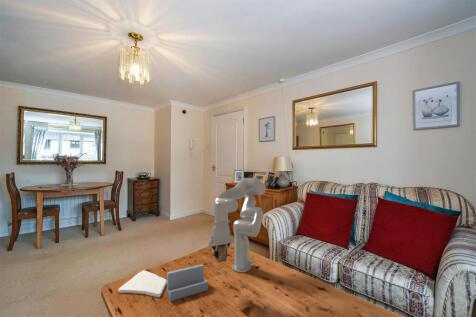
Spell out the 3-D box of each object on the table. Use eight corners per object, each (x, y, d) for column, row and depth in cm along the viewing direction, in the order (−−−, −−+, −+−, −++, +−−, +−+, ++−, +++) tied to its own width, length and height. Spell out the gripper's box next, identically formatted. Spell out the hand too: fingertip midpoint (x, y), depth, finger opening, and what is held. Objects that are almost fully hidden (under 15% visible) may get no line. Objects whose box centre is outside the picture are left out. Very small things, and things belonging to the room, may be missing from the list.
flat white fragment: (116, 296, 111) (158, 300, 106) (116, 289, 111) (158, 294, 106) (142, 273, 132) (178, 276, 127) (141, 268, 132) (178, 270, 127)
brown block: (222, 256, 118) (222, 242, 118) (226, 261, 113) (227, 246, 113) (215, 258, 116) (215, 244, 116) (219, 263, 111) (219, 248, 111)
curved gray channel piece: (202, 281, 122) (202, 264, 123) (207, 290, 114) (208, 271, 114) (167, 290, 113) (167, 272, 113) (170, 301, 105) (170, 281, 105)
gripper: (231, 219, 122) (231, 250, 122) (204, 223, 114) (203, 257, 114) (237, 223, 116) (237, 256, 116) (209, 227, 108) (208, 262, 107)
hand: (220, 256), depth 115 cm, fingers closed on brown block, 4 cm apart
